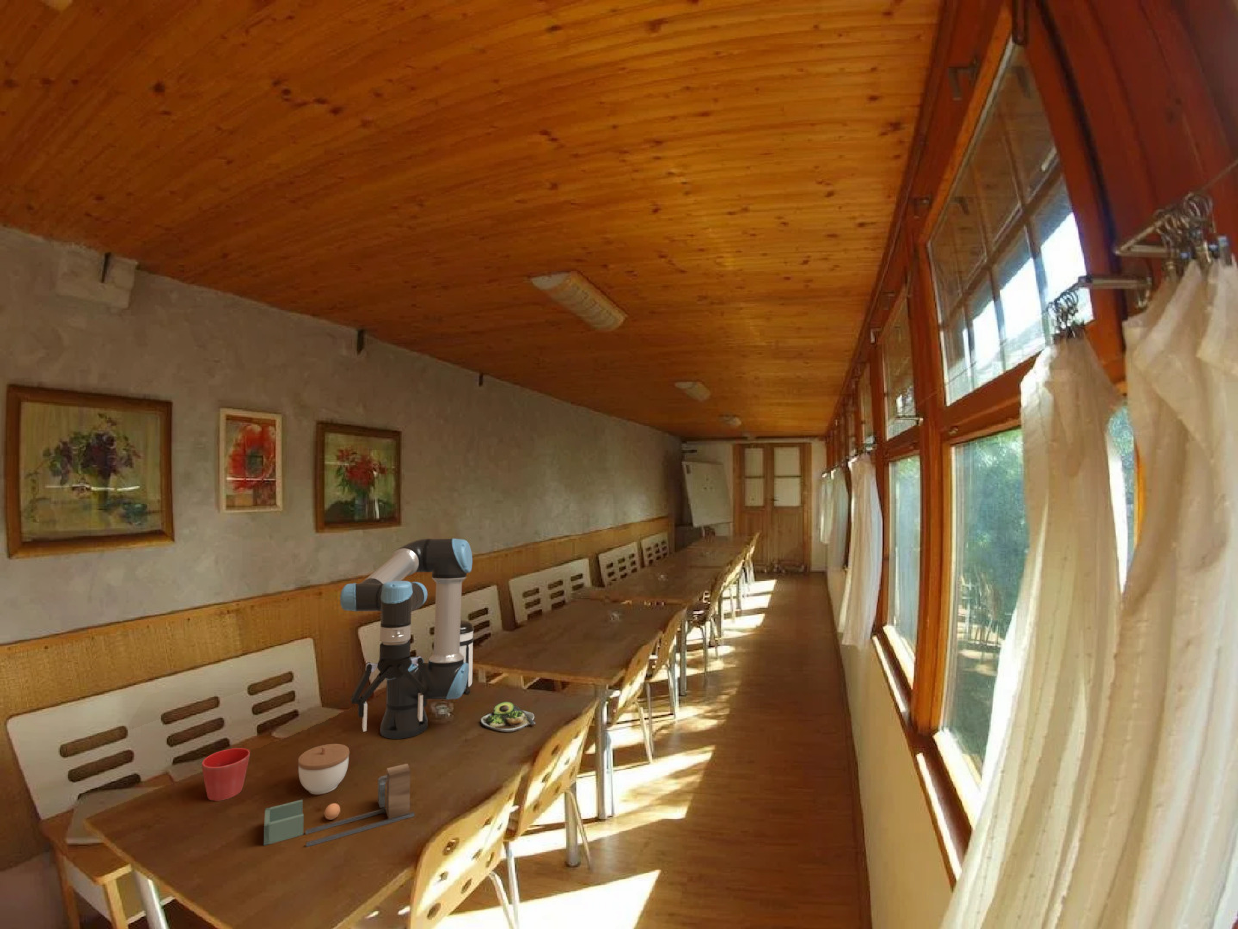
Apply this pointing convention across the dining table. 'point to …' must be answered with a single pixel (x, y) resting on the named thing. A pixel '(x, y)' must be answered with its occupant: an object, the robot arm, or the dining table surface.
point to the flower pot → (225, 773)
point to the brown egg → (332, 811)
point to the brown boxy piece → (395, 791)
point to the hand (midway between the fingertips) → (392, 724)
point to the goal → (283, 822)
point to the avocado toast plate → (507, 717)
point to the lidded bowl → (323, 767)
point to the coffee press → (467, 648)
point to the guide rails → (355, 828)
